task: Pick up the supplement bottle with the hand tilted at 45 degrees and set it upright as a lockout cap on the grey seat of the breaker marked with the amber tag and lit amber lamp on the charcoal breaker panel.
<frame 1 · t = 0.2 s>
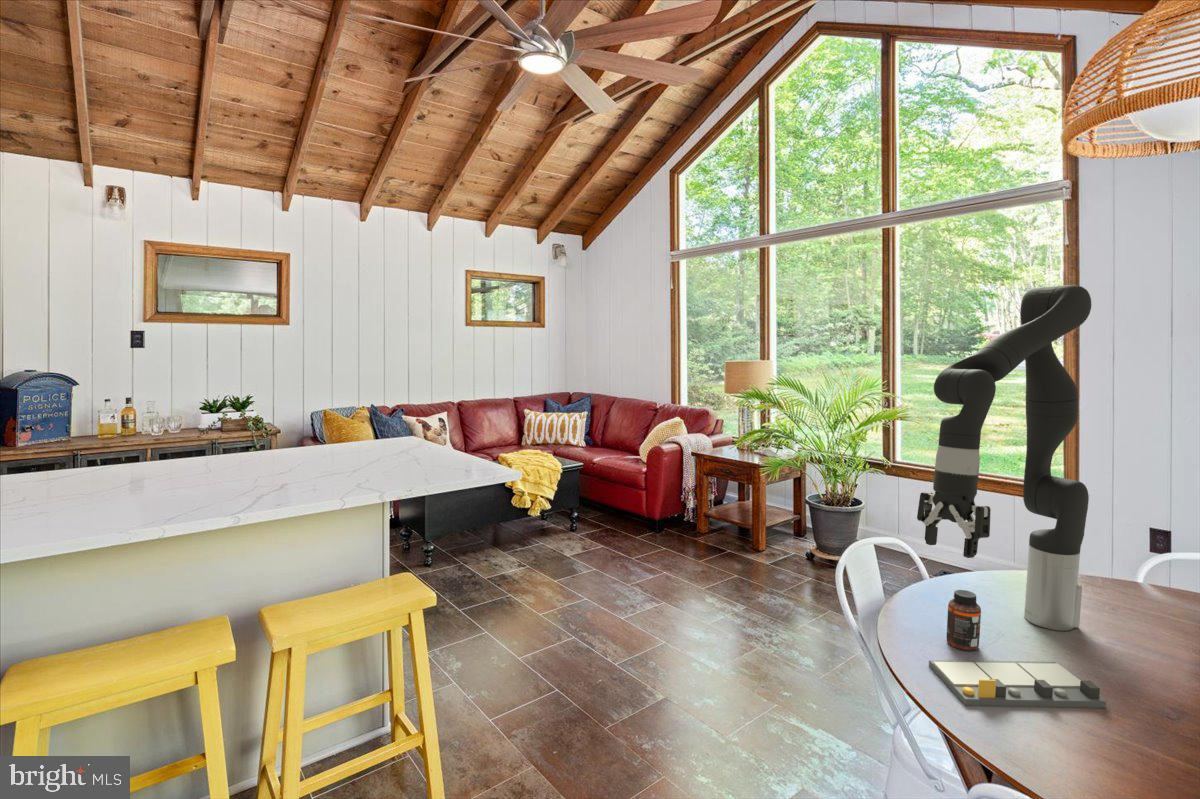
hand: (949, 550, 121), 22 cm above the table, tool pointing down, fingers open, 8 cm apart
breaker panel: (1011, 685, 114), on the table
supplement bottle: (962, 645, 129), on the table
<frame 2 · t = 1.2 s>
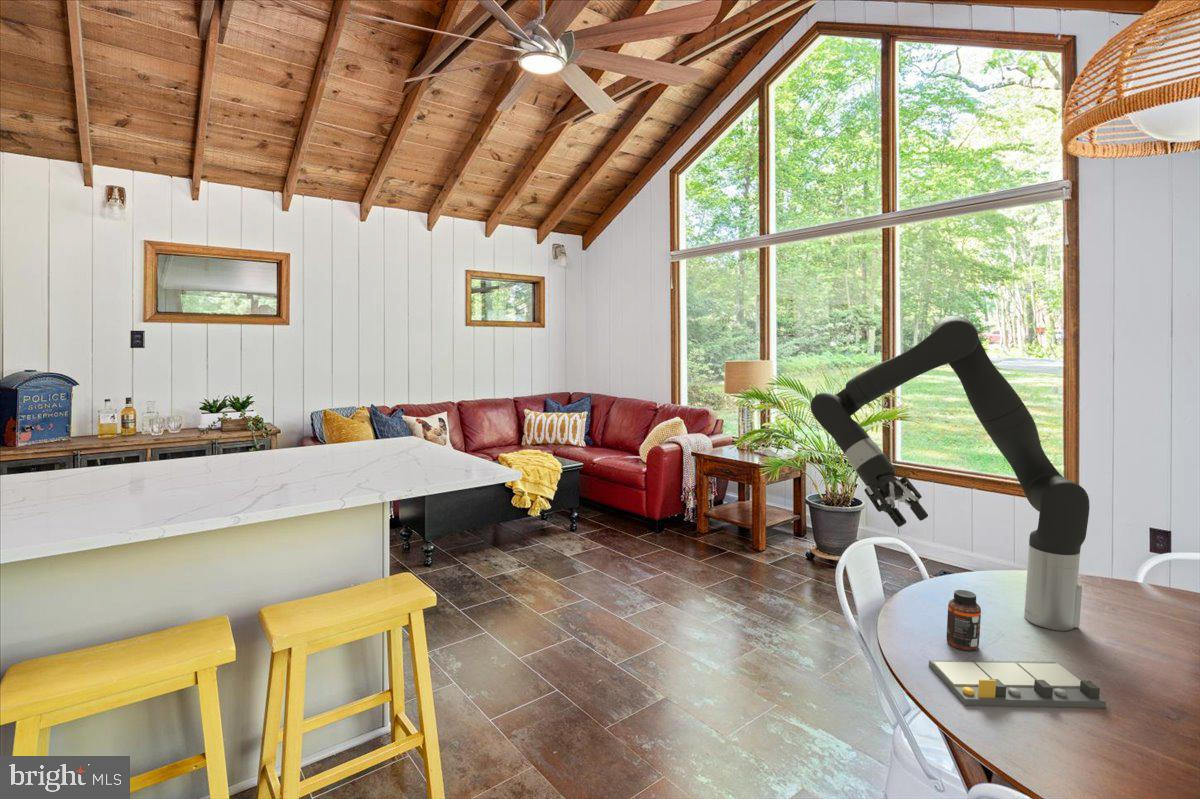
hand: (914, 521, 136), 24 cm above the table, tool tilted 45°, fingers open, 8 cm apart
nothing on the table moved.
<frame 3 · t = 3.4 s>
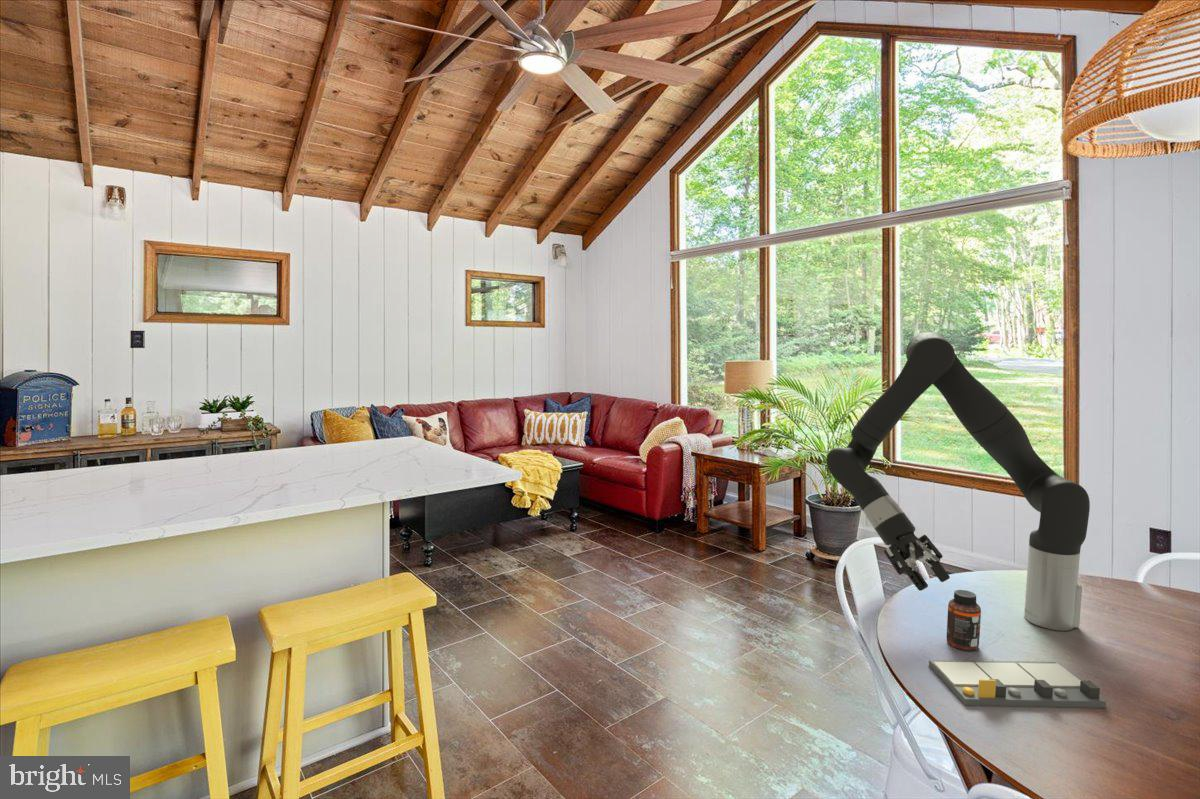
hand: (935, 584, 133), 11 cm above the table, tool tilted 45°, fingers open, 8 cm apart
nothing on the table moved.
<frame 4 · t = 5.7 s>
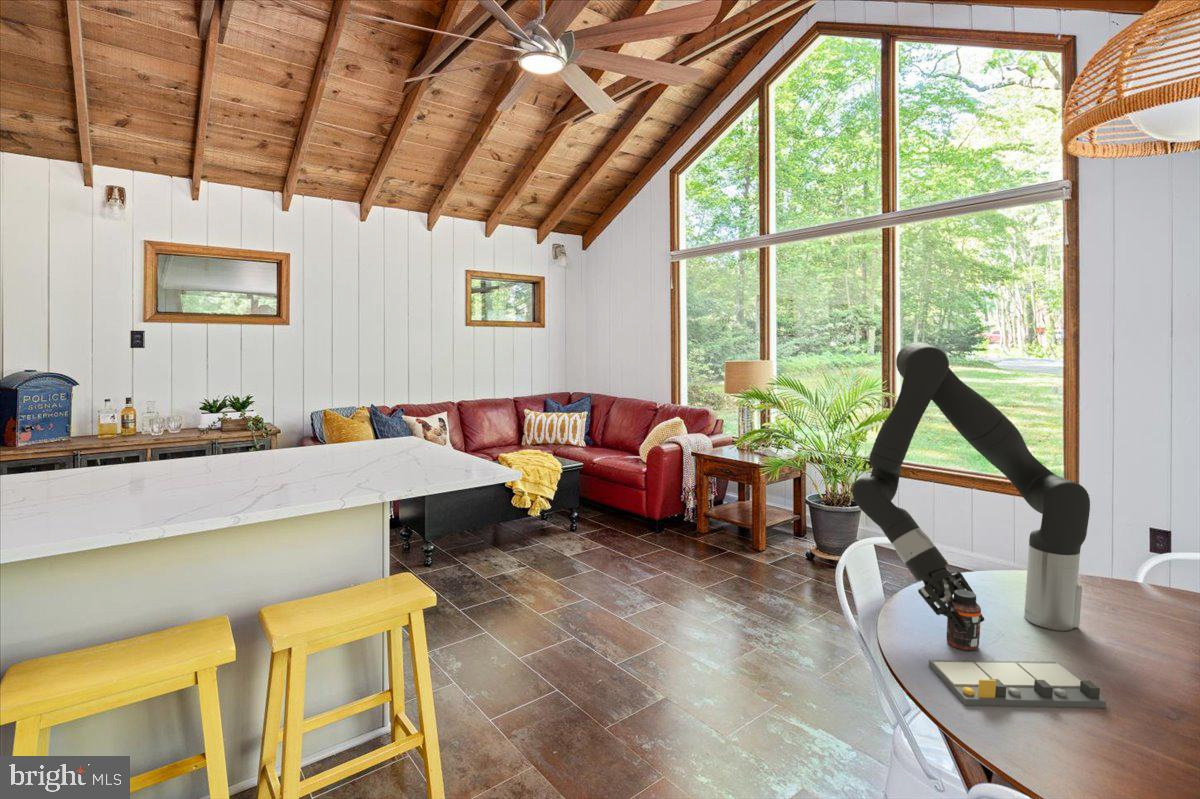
hand: (972, 626, 127), 5 cm above the table, tool tilted 45°, fingers closed on supplement bottle, 6 cm apart
supplement bottle: (962, 645, 129), on the table, touching gripper
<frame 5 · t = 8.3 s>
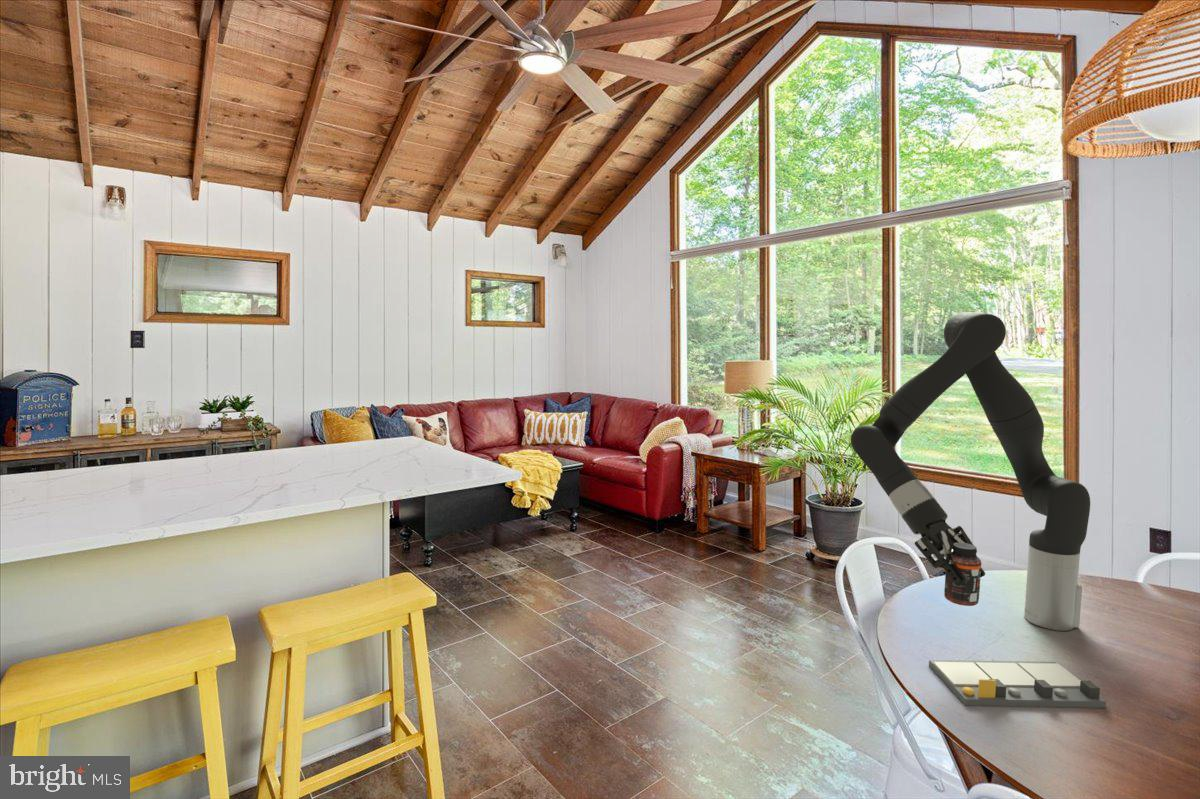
hand: (971, 580, 119), 17 cm above the table, tool tilted 45°, fingers closed on supplement bottle, 6 cm apart
supplement bottle: (961, 601, 121), point 12 cm above the table, touching gripper
when the fingers open (8 cm above the table, at t = 11.1 s): supplement bottle drops 1 cm, resting on breaker panel.
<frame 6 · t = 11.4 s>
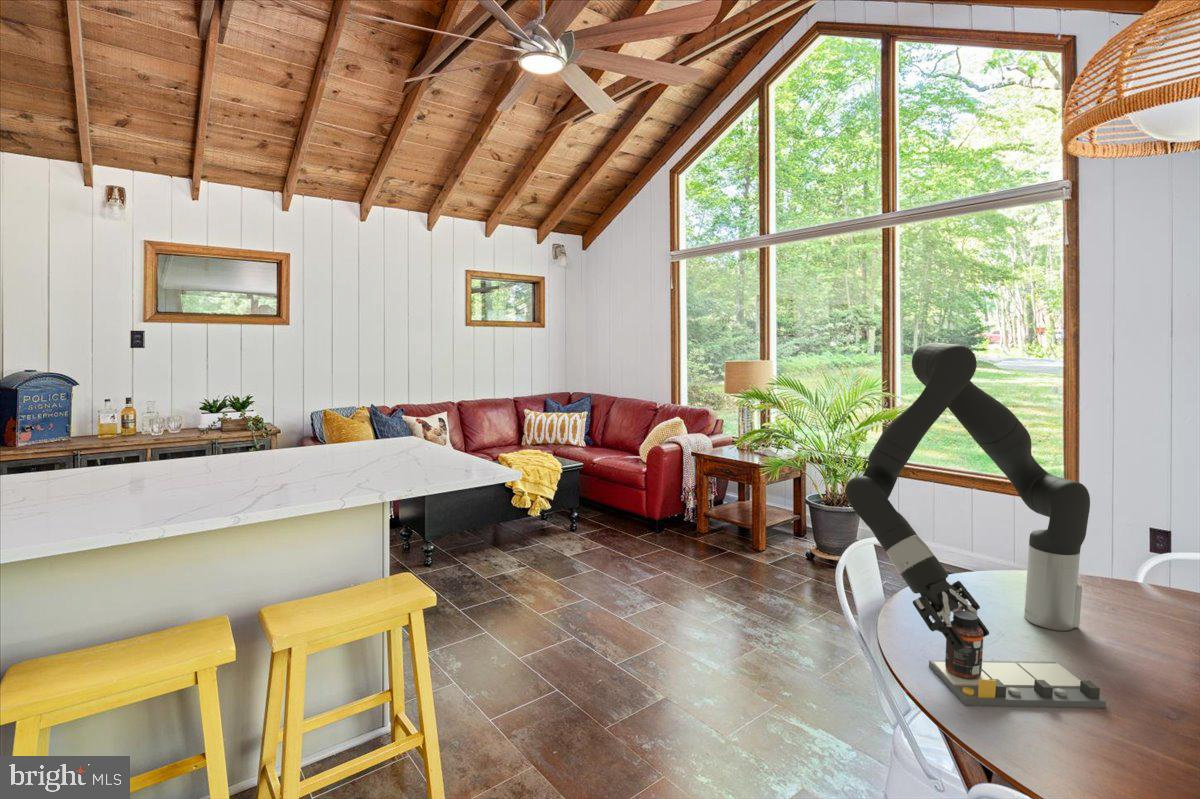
hand: (973, 642, 113), 8 cm above the table, tool tilted 45°, fingers open, 8 cm apart
supplement bottle: (962, 672, 116), point 1 cm above the table, touching breaker panel
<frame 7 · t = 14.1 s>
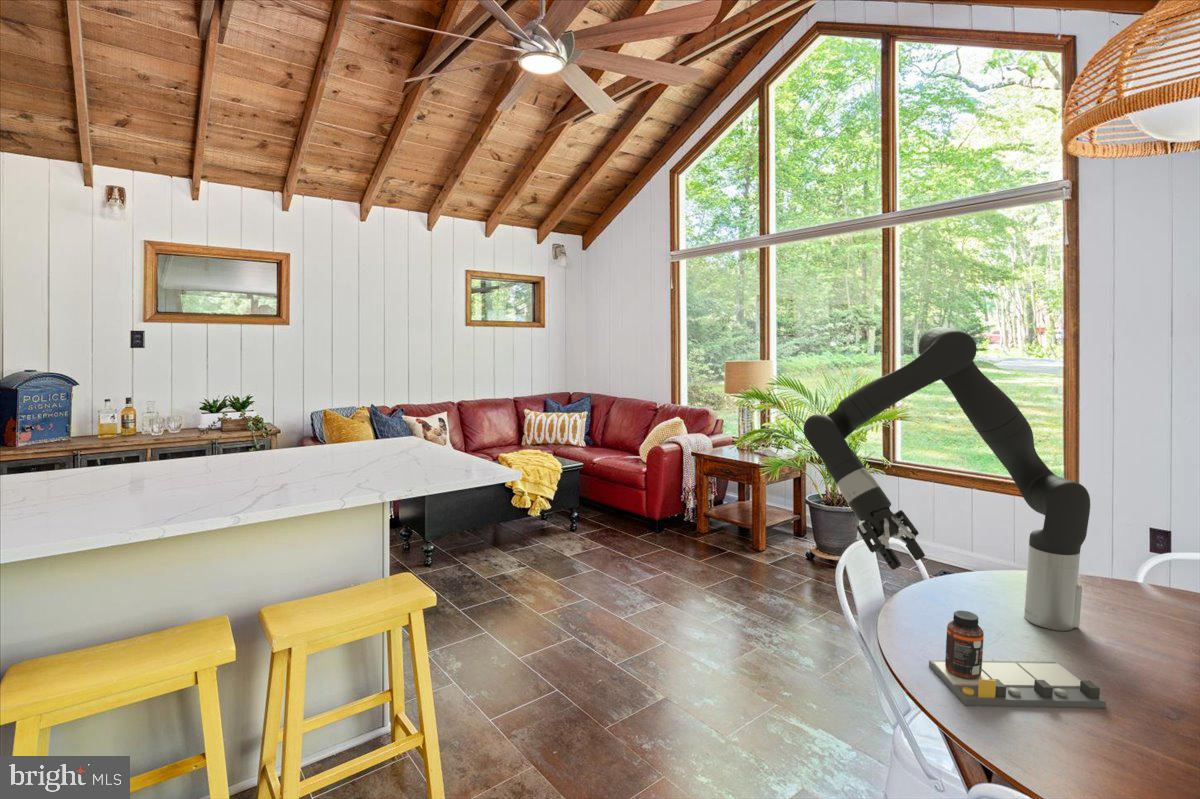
hand: (909, 563, 125), 19 cm above the table, tool tilted 40°, fingers open, 8 cm apart
nothing on the table moved.
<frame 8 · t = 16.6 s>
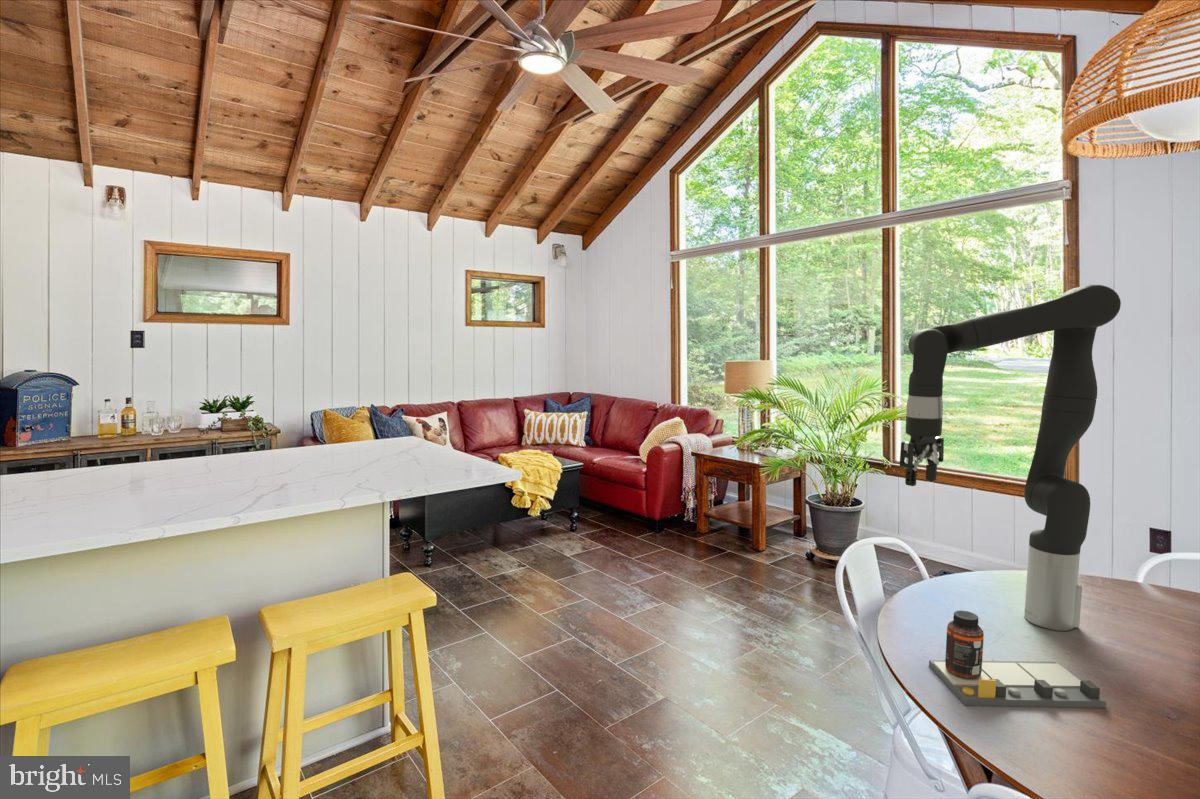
hand: (920, 482, 144), 30 cm above the table, tool pointing down, fingers open, 8 cm apart
nothing on the table moved.
at the end: supplement bottle 0.3 cm from the target spot on the breaker panel, point 1.3 cm above the breaker panel's base; supplement bottle tilted 0°; the gripper is holding nothing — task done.
